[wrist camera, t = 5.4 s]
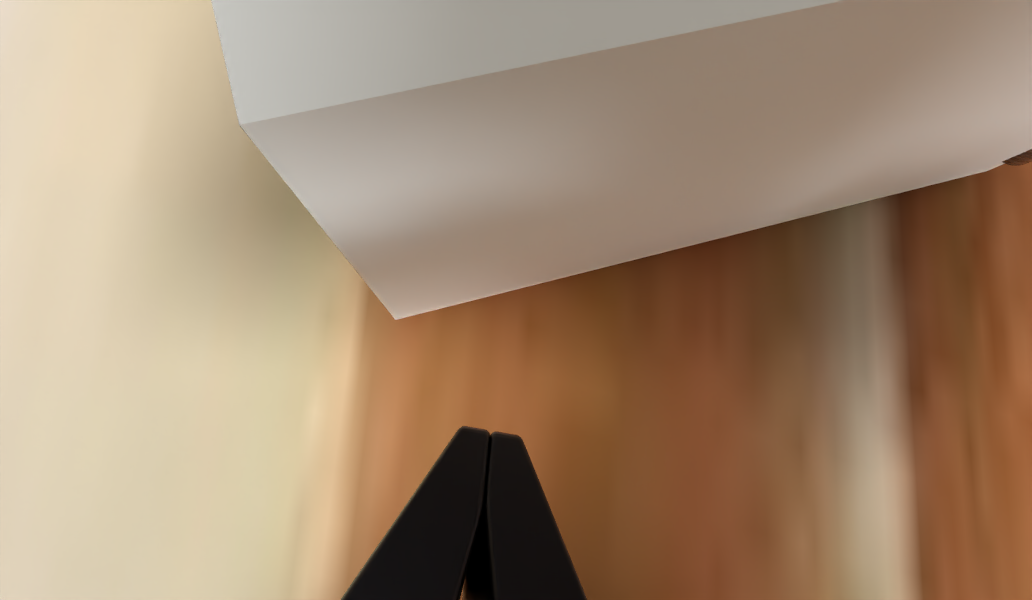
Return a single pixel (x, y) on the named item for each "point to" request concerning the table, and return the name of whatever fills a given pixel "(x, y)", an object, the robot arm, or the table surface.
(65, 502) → the table surface
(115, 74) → the table surface
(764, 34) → the cabinet door
